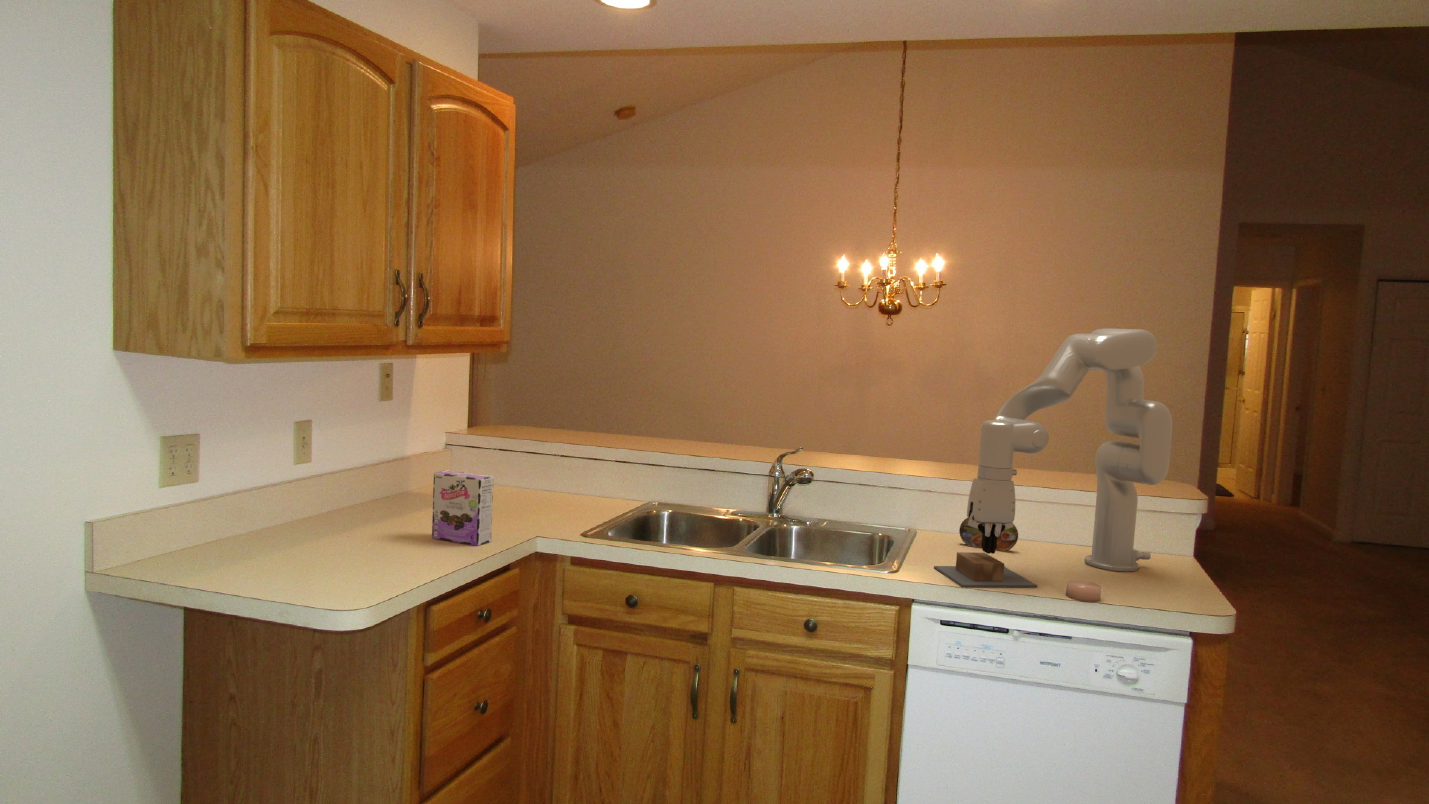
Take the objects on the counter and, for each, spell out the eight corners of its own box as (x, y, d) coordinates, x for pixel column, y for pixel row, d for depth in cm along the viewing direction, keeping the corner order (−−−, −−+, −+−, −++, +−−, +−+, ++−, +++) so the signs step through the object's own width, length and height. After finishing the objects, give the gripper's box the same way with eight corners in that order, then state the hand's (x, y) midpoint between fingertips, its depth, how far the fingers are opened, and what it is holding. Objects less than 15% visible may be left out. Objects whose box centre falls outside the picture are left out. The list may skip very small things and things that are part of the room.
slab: (984, 552, 220) (956, 552, 219) (1004, 563, 210) (975, 563, 209) (983, 569, 221) (955, 569, 219) (1003, 581, 211) (974, 581, 210)
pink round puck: (1089, 593, 207) (1090, 580, 207) (1106, 602, 200) (1107, 589, 200) (1059, 593, 206) (1061, 579, 206) (1075, 602, 199) (1077, 588, 199)
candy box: (430, 538, 225) (432, 472, 224) (446, 534, 231) (447, 468, 230) (477, 546, 220) (479, 478, 219) (492, 541, 226) (494, 474, 224)
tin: (957, 545, 248) (960, 514, 248) (960, 543, 251) (962, 512, 251) (1015, 554, 242) (1018, 522, 241) (1018, 551, 244) (1020, 520, 244)
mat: (1003, 568, 225) (1004, 566, 225) (1037, 587, 209) (1037, 585, 209) (933, 568, 222) (933, 565, 222) (962, 587, 206) (962, 584, 206)
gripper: (1016, 472, 218) (1010, 548, 220) (957, 470, 216) (951, 547, 217) (1032, 477, 211) (1026, 556, 213) (971, 475, 209) (965, 556, 210)
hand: (988, 552), depth 215 cm, fingers closed
